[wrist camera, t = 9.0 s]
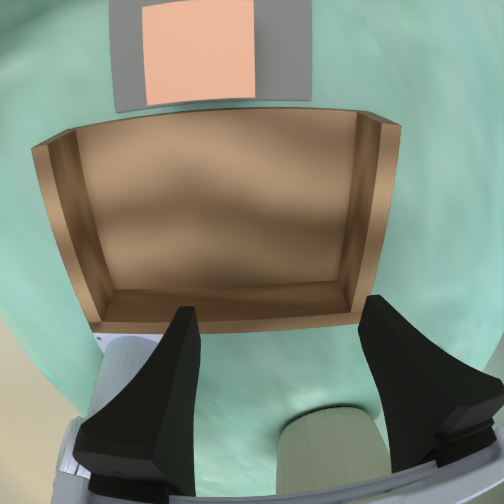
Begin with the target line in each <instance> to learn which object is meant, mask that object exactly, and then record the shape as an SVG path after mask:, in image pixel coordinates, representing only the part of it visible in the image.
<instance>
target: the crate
mask: <svg viewBox="0 0 504 504" xmlns="http://www.w3.org/2000/svg"><path fill="white" fill-rule="evenodd" d="M401 127H402V126H401V125H399V124H397V123H395V122H393V121H390V120H388V119H386V118H383V117H381V116H379V115H376V114H374V113H372V112H367V111H356V110H343V109H327V108H301V107H250V108H224V109H208V110H194V111H183V112H173V113H164V114H155V115H147V116H140V117H133V118H126V119H120V120H114V121H108V122H102V123H97V124H92V125H87V126H82V127H77V128H72V129H68V130H65V131H63V132H61V133H59V134H57V135H55V136H53V137H51V138H49V139H47V140H45V141H44V142H42V143H40V144H38V145H36V146H34V147H33V148H31V151H32V156H33V160H34V165H35V169H36V174H37V178H38V182H39V186H40V190H41V193H42V197H43V201H44V204H45V208H46V211H47V215H48V218H49V221H50V225H51V228H52V231H53V234H54V237H55V240H56V243H57V246H58V249H59V252H60V255H61V258H62V260H63V263H64V266H65V268H66V271H67V274H68V276H69V279H70V281H71V284H72V286H73V289H74V291H75V294H76V296H77V298H78V301H79V303H80V306H81V308H82V310H83V312H84V315H85V317H86V319H87V321H88V323H89V326H90V328H91V330H92V332H93V333H110V334H164V333H165V332H166V330H167V328H168V326H169V324H170V323H171V321H172V319H173V317H174V315H175V313H176V311H177V309H178V308H179V307H180V306H195V312H196V317H197V323H198V328H199V333H200V334H218V333H244V332H263V331H279V330H293V329H306V328H318V327H329V326H339V325H349V324H358V323H359V322H360V319H361V315H362V312H363V308H364V304H365V300H366V297H367V296H369V295H371V291H372V288H373V284H374V280H375V276H376V271H377V267H378V263H379V259H380V254H381V250H382V245H383V241H384V236H385V231H386V226H387V221H388V216H389V211H390V205H391V199H392V193H393V187H394V181H395V175H396V168H397V161H398V153H399V145H400V137H401Z"/></svg>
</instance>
